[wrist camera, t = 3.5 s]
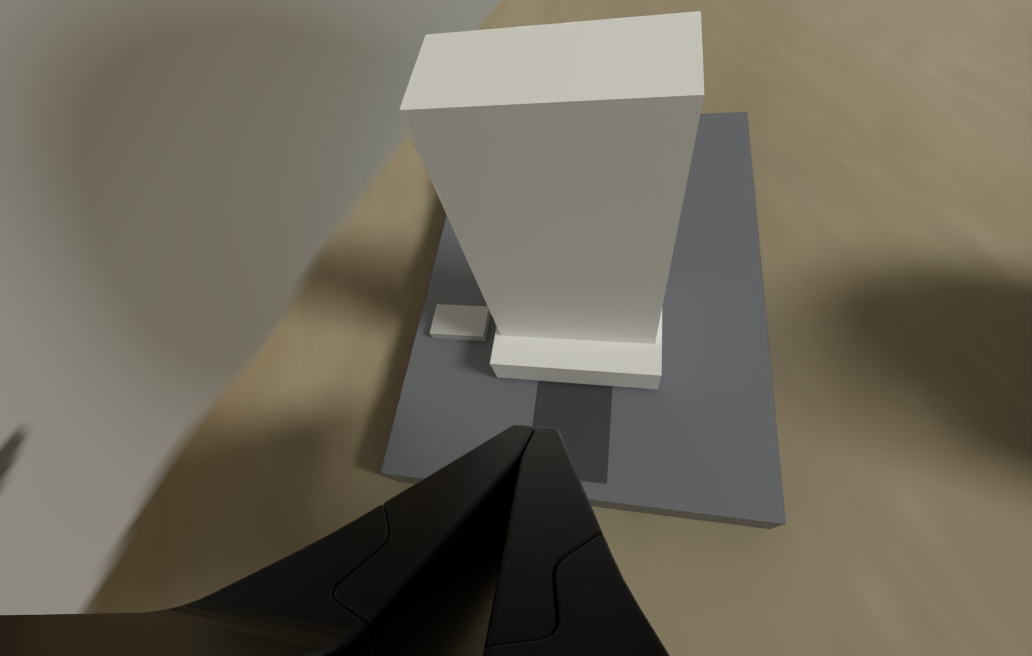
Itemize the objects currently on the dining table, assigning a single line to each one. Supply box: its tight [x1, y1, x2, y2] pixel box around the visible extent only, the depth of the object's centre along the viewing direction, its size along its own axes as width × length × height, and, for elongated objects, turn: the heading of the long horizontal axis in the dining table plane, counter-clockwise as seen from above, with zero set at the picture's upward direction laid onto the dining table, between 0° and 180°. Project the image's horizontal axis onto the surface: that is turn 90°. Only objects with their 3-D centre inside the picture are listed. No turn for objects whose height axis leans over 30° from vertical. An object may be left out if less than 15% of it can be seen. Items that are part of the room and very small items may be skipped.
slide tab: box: [400, 11, 704, 390], centre depth 12 cm, size 4×5×10 cm
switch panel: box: [381, 112, 786, 529], centre depth 18 cm, size 16×12×2 cm
